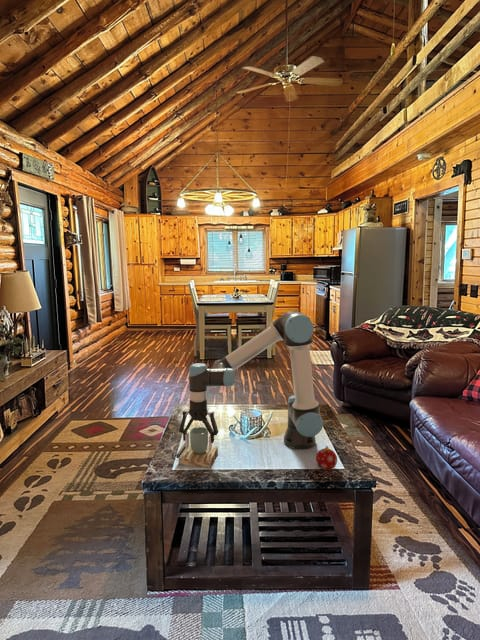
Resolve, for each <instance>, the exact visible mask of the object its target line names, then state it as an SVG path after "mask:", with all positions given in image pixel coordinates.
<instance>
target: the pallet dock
mask: <svg viewBox="0 0 480 640" xmlns="http://www.w3.org/2000/svg"><path fill="white" fill-rule="evenodd" d="M218 454H219V449H218V446H213V445H212V449H211V451H209V445H208V447H207V450H206V451H205V452H204V453H203V454H195V453H193V452H192V450H191V445H190V443H189V447H188V448H187V449H185V442H184V443H183V444H182V446H181V448H180V449H179V450H178V452H177V453H176V454H175V456H176V459H178V465H180V466H188V467H189V466H192V467H201V468H202V467H203V468H211V467H212V463H213V462H214V461H215V459H216V456H217V455H218Z"/></svg>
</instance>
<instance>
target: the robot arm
mask: <svg viewBox="0 0 480 640" xmlns="http://www.w3.org/2000/svg"><path fill="white" fill-rule="evenodd" d="M313 333H314V323H313V322H312V320H311V319H310V317H309V316H307V315H306V314H304V313H302V312H300V311H298V310H297V311H296V310H289V311H286V312H285V313H283V314H282V315H281V316H279V317H278V318H276V319H275V320H274V321H272V322H271V323H270V325H269V327H267V328H266V329H264V330H262V331H261V332H260V333H258V334H257V335H256V336H254V337H252V338H250V339H249V340H248V341H246V342H245V343H244V344H243V345H241V346H238V348H236V349H235V350H233V351H232V352H230V353H229V354H228V355H226V356H224V357H223V358H221V359H217V360H216V361H214V363H213V365H212V366H211V368H208V365H207V364H206V363H199V362H198V363H197V362H196V363H192V364H190V366H189V371H188V373H189V374H188V382H189V383H188V384H189V385H188V386H189V387H188V388H189V389H188V390H189V410H187V409H184V410H183V411H182V419H181V422H180V426H179V430H178V432H179V433H180V434H182V437H183V438H182V439H183V441H184V443H185V449H187V448H188V447H189V444H190V431H189V429H190V427H191V425H192V423H193V422H194V421H199V422H201V423H202V424H204V426H205V428H207V430H208V446H209V451H211V449H212V446H213V444H214V442H215V436H217V435H218V434H219V429H218V425H217V423H216V422H217V421H216V418H215V411H209V410H208V387H230V386H231V387H232V386H234V385H235V379H236V377H235V376H236V375H235V370H238V369H239V368H240V367H241V366H243V365H244V364H246V363H248V361H250V360H252V359H254V358H255V357H256V356H258V355H259V354H260V353H262V352H264V351H266V349H269V348H270V347H271V346H273V345H274V344H275V343H277V342H278V341H284V343H285V347H287V348H288V349H289V358H290V365H291V373H292V374H291V375H292V384H293V393H294V395H291V396H289V397H288V400H287V427H286V430H285V433H284V436H283V444H284V445H285V446H286V447H289V448H291V449H295V450H296V449H297V450H308V449H312V448H314V447H315V445H316V441H317V440H316V437H315V436H317V435H318V434H319V433H320V432H321V431H322V430H323V428H324V420H323V417H322V416H321V413H320V412H321V411H320V404H319V401H317V400H316V397H315V389H314V379H313V371H312V370H313V369H312V368H313V367H312V360H311V350H310V347H311V346H312V344H313ZM188 415H189V416H190V419H189V420H188V423H187V425H186V426H185V424H186V422H187V421H186V420H187V417H188ZM207 416H208V417H209V419H210V422H209V420H208V418H207ZM184 427H185V428H184ZM188 431H189V432H188Z"/></svg>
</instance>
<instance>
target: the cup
mask: <svg viewBox="0 0 480 640" xmlns="http://www.w3.org/2000/svg"><path fill="white" fill-rule="evenodd" d="M189 444H190V445H191V450H192V452H193V453H195V454H203V453H204V452H205V451H206V450H207V447H208V446H209V432H208V430H207V428H206V427H203V426H197V427H193V428H191V429H190V431H189Z"/></svg>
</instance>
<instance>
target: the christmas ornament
mask: <svg viewBox="0 0 480 640" xmlns="http://www.w3.org/2000/svg"><path fill="white" fill-rule="evenodd" d="M315 457H316V458H315V460H316V463H317V466H318V467H319V468H320V469H322V470H324V471H330V470H333V469H334V468H335V467H336V466H337V464H338V456H337V454H336V453H335V451H333V450H332V449H331V448H329V446H328V445H326V446H325V448H321V449H320V450H319V451H318V452H317V454H316V456H315Z"/></svg>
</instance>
